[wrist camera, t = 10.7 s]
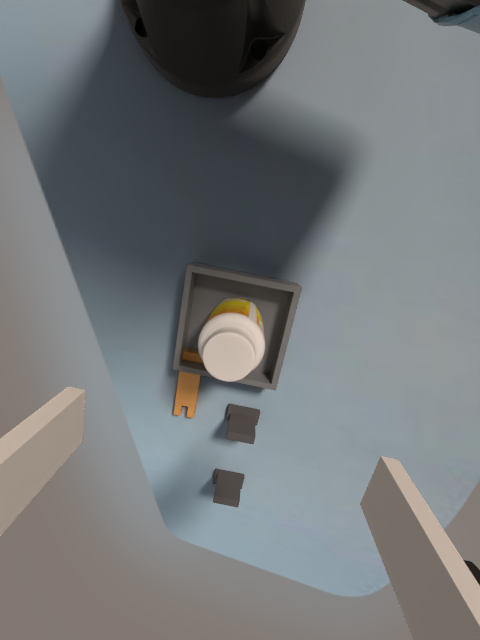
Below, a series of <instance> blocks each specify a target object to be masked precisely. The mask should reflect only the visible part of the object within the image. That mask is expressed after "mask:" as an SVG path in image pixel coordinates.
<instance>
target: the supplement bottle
mask: <svg viewBox="0 0 480 640" xmlns="http://www.w3.org/2000/svg"><path fill="white" fill-rule="evenodd" d="M198 350H199V354H200V357H201V359H202V361H203V363H204V366H205V368H206V369H207V371H208V372H209V373H210V374H211V375H212V376H213V377H215V378H217V379H219V380H222V381H227V382H232V381H237V380H240V379H242V378H244V377H245V376H247V375H248V374H249V373H250V372H251V371H252V370H254V369H255V368H256V367H257V366H258V364H259V363H260V362H261V360H262V358H263V355H264V351H265V338H264V329H263V321H262V316H261V313H260V311H259V309H258V308H257V306H256V305H255V304H254V303H252V302H251V301H249V300H247V299H245V298H241V297H231V298H227V299H225V300H223V301H221V302H220V303H219V304H218V305H217V306H216V307H215V308H214V310H213V312H212V313H211V315H210V317H209V318H208V320H207V322H206V323H205V325H204V327H203V328H202V330H201V333H200V335H199V340H198Z"/></svg>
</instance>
